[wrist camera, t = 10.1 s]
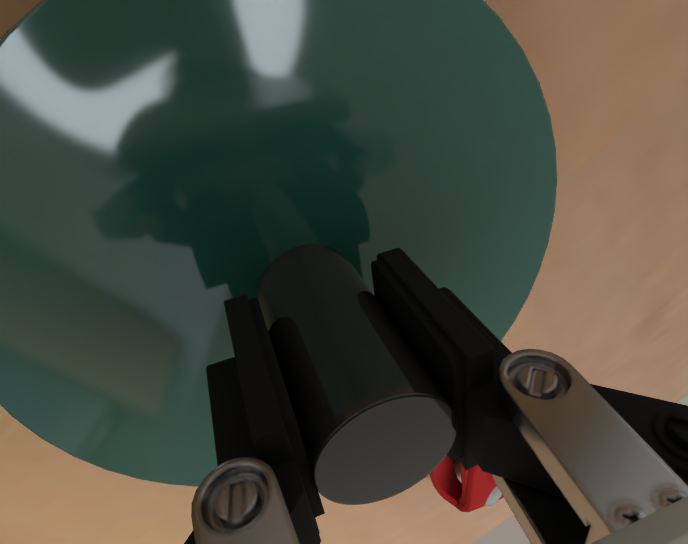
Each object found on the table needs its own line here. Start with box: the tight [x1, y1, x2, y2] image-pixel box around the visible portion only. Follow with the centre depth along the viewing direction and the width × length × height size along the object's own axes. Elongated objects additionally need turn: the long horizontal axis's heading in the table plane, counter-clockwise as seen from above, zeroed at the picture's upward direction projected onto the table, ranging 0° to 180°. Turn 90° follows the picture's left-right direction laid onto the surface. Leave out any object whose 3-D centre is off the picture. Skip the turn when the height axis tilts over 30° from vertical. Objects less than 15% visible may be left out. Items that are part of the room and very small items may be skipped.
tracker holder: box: [430, 455, 503, 512], centre depth 28 cm, size 12×4×10 cm
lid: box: [0, 0, 557, 505], centre depth 11 cm, size 16×16×7 cm
